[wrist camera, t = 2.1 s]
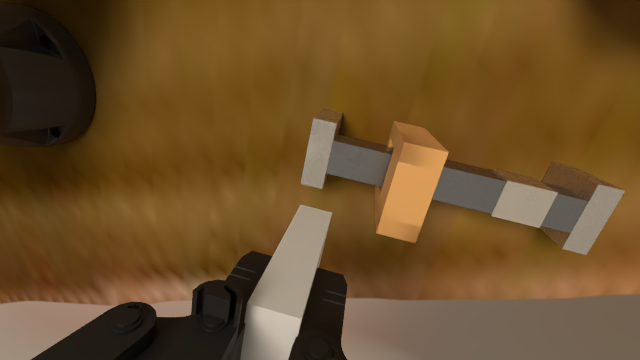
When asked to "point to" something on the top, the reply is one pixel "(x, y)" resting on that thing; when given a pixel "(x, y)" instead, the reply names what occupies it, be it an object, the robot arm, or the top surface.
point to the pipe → (476, 186)
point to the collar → (408, 182)
